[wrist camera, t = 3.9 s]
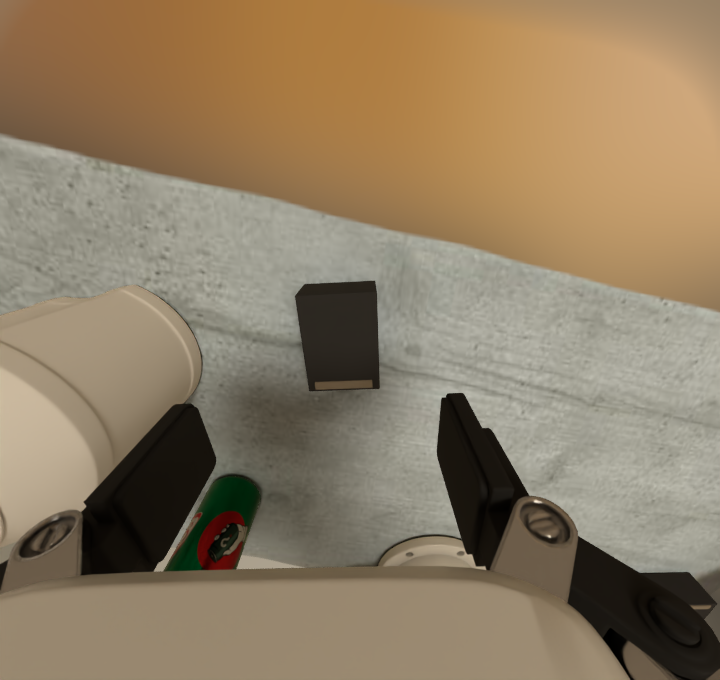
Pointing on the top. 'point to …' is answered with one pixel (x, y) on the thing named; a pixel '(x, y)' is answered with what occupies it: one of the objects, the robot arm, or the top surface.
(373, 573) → the robot arm
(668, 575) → the charcoal pad
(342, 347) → the black box
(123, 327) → the jar
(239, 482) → the soda can
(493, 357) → the top surface
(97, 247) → the top surface
